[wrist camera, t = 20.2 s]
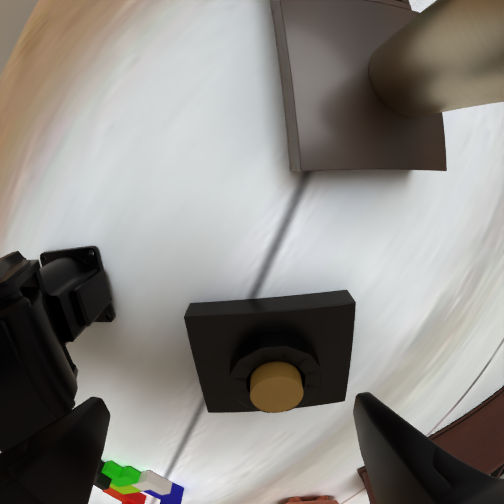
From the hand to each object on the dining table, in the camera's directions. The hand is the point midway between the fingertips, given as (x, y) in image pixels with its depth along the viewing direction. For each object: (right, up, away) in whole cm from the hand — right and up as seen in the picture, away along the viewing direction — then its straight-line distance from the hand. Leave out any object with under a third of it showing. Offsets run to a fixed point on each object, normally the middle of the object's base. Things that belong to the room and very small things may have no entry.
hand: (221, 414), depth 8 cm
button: (+3, -4, +11) cm, 12 cm away
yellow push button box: (+3, -3, +14) cm, 15 cm away
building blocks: (-19, -30, +23) cm, 42 cm away
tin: (+10, +15, +4) cm, 19 cm away
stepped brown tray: (+7, +20, +7) cm, 23 cm away
